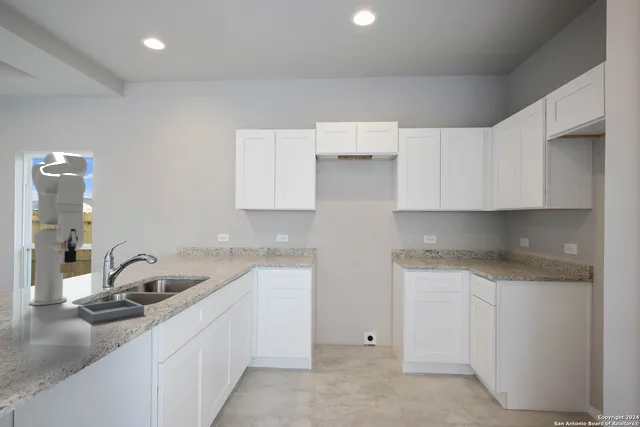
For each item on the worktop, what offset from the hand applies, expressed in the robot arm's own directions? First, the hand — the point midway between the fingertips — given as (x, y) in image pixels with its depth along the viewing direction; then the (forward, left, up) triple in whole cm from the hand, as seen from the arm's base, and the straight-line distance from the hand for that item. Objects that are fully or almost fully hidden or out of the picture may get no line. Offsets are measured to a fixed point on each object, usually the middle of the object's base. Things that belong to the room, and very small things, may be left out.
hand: (68, 261), depth 120 cm
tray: (0, +14, -21) cm, 25 cm away
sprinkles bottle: (0, 0, -4) cm, 4 cm away
